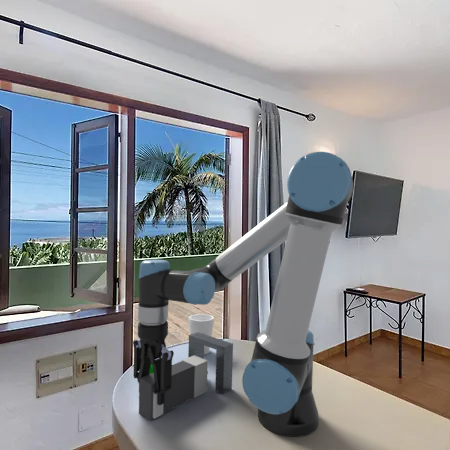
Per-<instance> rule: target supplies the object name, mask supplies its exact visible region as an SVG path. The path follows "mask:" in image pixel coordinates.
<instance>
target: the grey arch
mask: <svg viewBox="0 0 450 450" xmlns="http://www.w3.org/2000/svg"><path fill="white" fill-rule="evenodd" d="M204 346H207V347H210V349H213V350H216V353H215V354H216V355H215V381H214V382H215V384H214V385H215V388H214V390H215V391H216V392H218V393H220V394H223V395H224V394H225V393H227V392H230V391H231V390H232V389H233V361H234V360H233V356H234V343H233V342H229V341H226V340H223V339H220V338H216V337H213V336H208V335H205V334H202V333H199V332H197V333H194V334H191V335H190V334H189V335H188V354H187V355H188V357H187V358H189V357H191V356H194V355H195V356H197V357H200V358H202V359H205V355H204Z"/></svg>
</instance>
